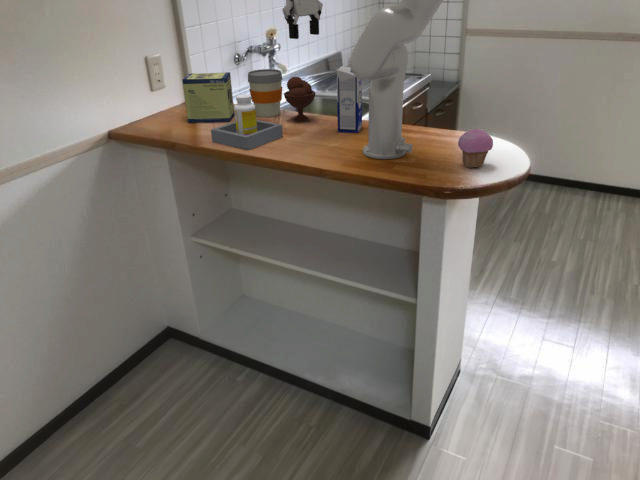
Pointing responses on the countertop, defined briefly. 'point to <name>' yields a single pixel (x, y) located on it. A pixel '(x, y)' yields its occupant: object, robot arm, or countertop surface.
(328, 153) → the countertop surface
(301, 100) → the ice cream bowl
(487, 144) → the cupcake
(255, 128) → the supplement bottle
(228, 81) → the protein box
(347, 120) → the milk carton
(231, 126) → the gray rectangular tray
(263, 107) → the reusable coffee cup
